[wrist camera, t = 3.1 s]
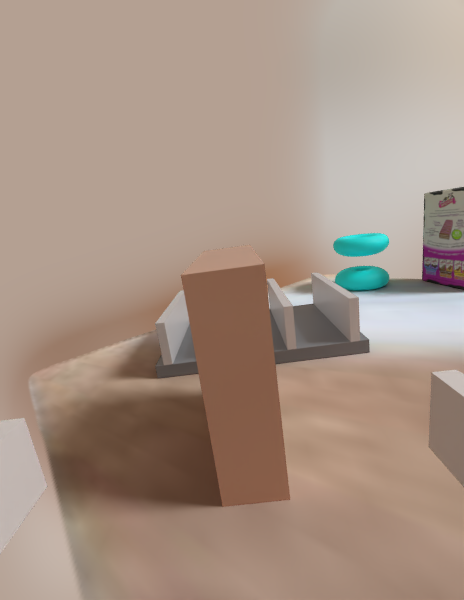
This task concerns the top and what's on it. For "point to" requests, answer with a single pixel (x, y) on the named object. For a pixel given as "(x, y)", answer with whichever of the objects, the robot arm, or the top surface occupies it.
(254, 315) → the terracotta tile
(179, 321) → the dish rack
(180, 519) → the top surface
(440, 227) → the candy bar box
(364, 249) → the donuts
